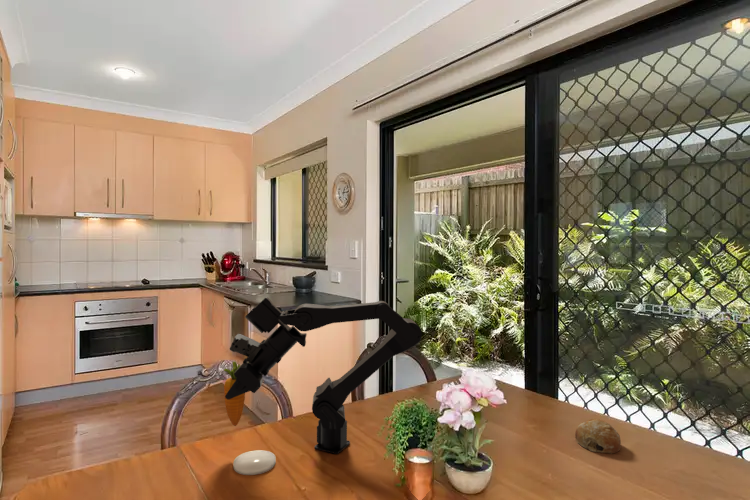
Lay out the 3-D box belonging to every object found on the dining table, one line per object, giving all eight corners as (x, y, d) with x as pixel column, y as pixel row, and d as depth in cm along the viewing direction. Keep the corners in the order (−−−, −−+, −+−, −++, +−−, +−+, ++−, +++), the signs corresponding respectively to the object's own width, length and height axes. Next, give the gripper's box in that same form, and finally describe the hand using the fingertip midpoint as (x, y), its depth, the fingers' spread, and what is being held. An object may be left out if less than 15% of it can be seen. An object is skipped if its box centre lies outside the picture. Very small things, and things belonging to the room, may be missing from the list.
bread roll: (575, 460, 108) (576, 437, 105) (574, 428, 116) (575, 405, 113) (621, 469, 104) (623, 444, 101) (616, 434, 113) (618, 411, 109)
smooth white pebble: (283, 459, 100) (283, 455, 100) (257, 478, 92) (257, 474, 92) (252, 451, 104) (252, 447, 104) (224, 468, 95) (224, 464, 95)
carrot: (240, 431, 101) (239, 366, 101) (220, 429, 102) (219, 365, 102) (249, 422, 106) (249, 360, 106) (230, 421, 107) (230, 359, 107)
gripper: (257, 316, 113) (214, 360, 112) (243, 331, 95) (191, 383, 94) (289, 346, 114) (246, 390, 113) (281, 366, 96) (229, 419, 95)
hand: (228, 394), depth 104 cm, fingers closed on carrot, 5 cm apart
